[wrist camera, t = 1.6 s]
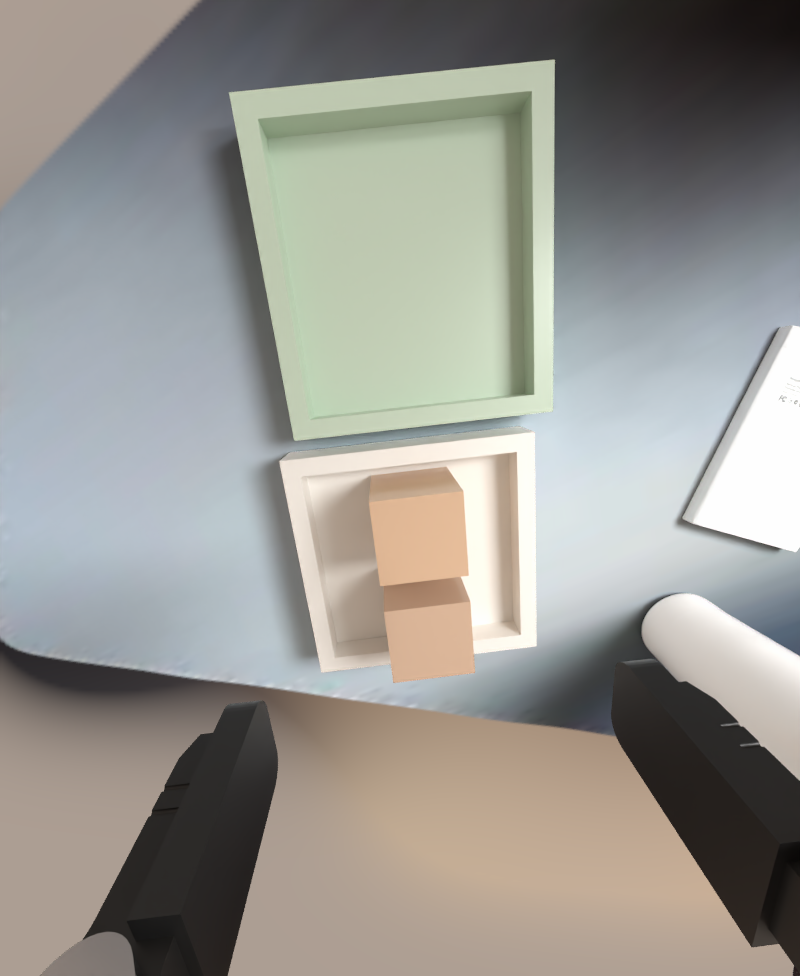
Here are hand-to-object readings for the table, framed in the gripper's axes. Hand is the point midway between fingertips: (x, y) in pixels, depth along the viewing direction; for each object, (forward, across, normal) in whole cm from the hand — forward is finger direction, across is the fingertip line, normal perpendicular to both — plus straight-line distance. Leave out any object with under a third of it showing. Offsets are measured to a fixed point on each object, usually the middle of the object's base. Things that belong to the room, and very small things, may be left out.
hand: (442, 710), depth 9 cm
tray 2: (+16, -1, +3) cm, 17 cm away
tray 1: (+16, -1, -12) cm, 20 cm away
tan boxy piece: (+15, 0, 0) cm, 15 cm away
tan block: (+15, -1, +6) cm, 17 cm away
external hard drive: (+17, -24, -1) cm, 30 cm away
